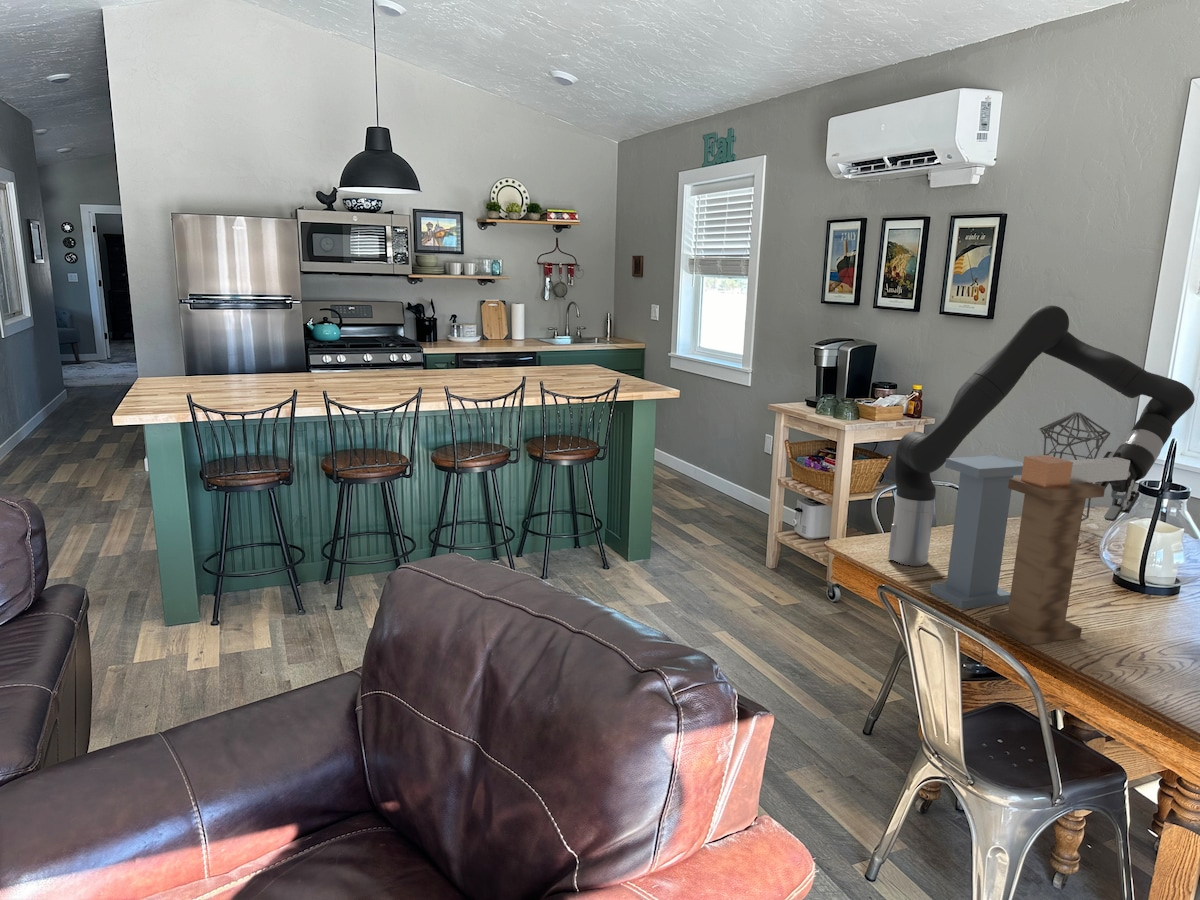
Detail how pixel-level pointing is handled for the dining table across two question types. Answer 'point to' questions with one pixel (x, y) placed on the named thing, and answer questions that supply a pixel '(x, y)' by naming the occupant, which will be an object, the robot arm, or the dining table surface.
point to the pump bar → (1072, 470)
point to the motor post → (978, 531)
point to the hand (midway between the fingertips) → (1102, 506)
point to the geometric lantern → (1085, 422)
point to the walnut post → (1045, 562)
